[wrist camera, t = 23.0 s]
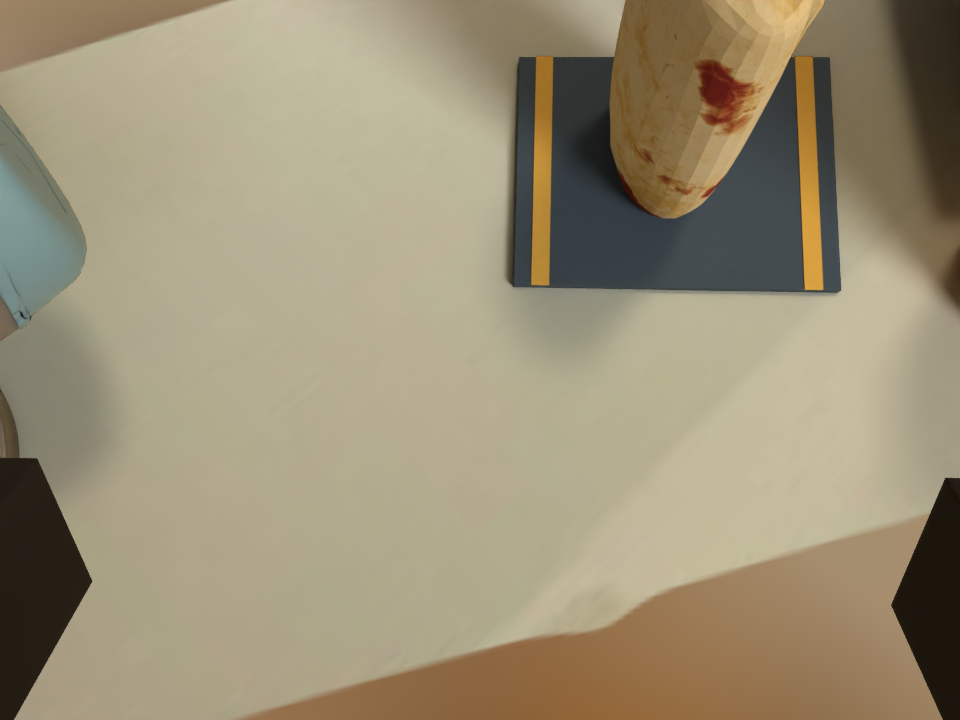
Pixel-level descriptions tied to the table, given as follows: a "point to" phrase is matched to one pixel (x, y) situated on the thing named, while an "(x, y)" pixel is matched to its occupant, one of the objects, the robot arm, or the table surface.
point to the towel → (695, 235)
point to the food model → (694, 91)
